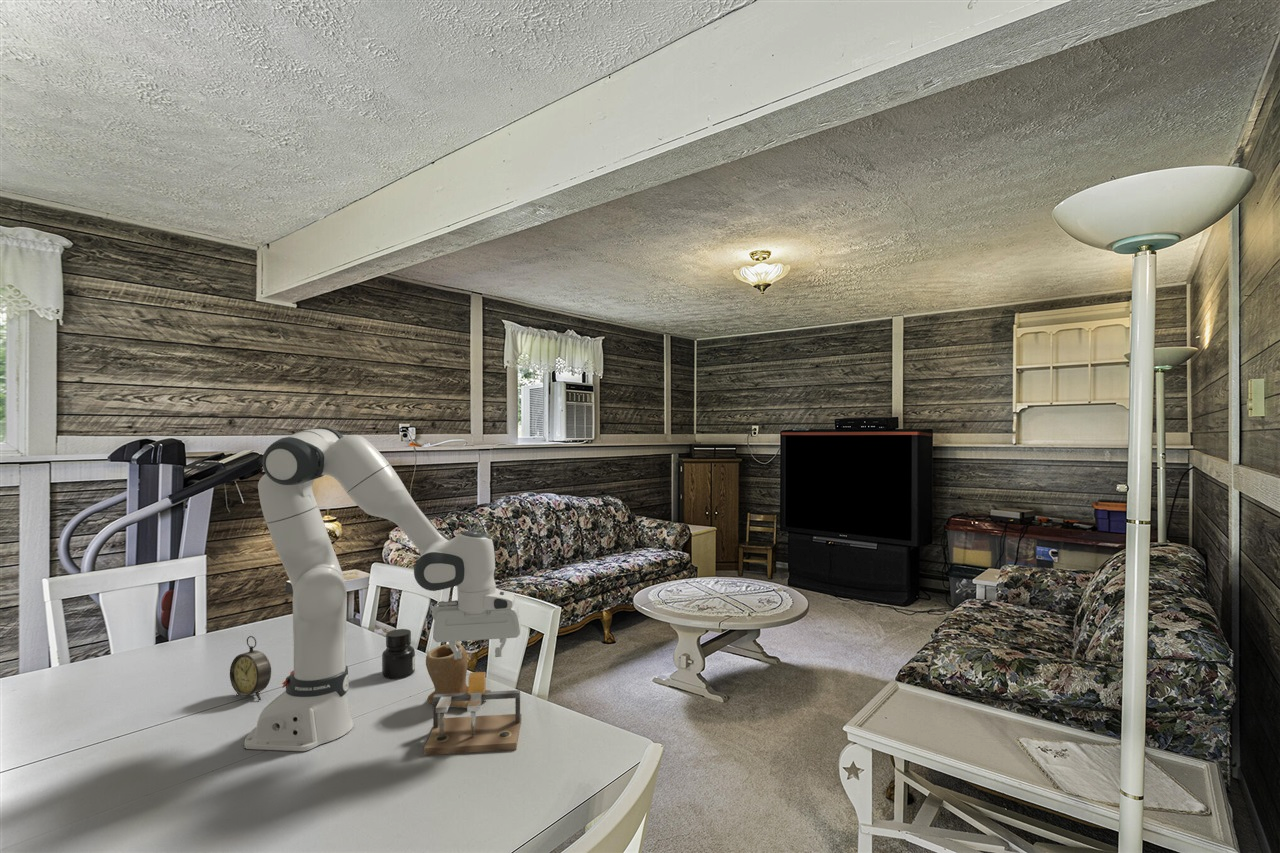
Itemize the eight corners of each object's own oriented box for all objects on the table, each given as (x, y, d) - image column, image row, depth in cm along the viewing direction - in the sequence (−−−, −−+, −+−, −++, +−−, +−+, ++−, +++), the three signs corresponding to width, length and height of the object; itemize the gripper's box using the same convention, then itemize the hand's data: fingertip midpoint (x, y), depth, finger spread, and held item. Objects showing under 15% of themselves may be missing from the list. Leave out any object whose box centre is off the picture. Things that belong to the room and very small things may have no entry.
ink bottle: (422, 672, 181) (421, 631, 181) (396, 682, 174) (395, 640, 174) (401, 665, 186) (400, 625, 186) (374, 675, 179) (374, 634, 179)
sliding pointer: (465, 736, 140) (464, 686, 140) (470, 719, 148) (470, 672, 148) (480, 735, 140) (480, 686, 140) (485, 718, 148) (485, 671, 148)
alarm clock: (228, 697, 165) (228, 636, 165) (247, 689, 170) (247, 630, 170) (256, 704, 161) (256, 641, 161) (275, 695, 166) (275, 635, 166)
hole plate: (423, 755, 135) (423, 715, 135) (437, 724, 149) (437, 688, 149) (516, 749, 138) (516, 710, 138) (521, 719, 151) (521, 684, 151)
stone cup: (415, 708, 158) (415, 650, 158) (446, 690, 169) (446, 635, 169) (464, 719, 152) (463, 658, 152) (492, 699, 163) (492, 642, 163)
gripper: (428, 605, 142) (430, 665, 142) (518, 600, 144) (520, 659, 144) (434, 598, 148) (436, 655, 148) (521, 593, 150) (522, 649, 151)
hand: (478, 657), depth 146 cm, fingers open, 8 cm apart
